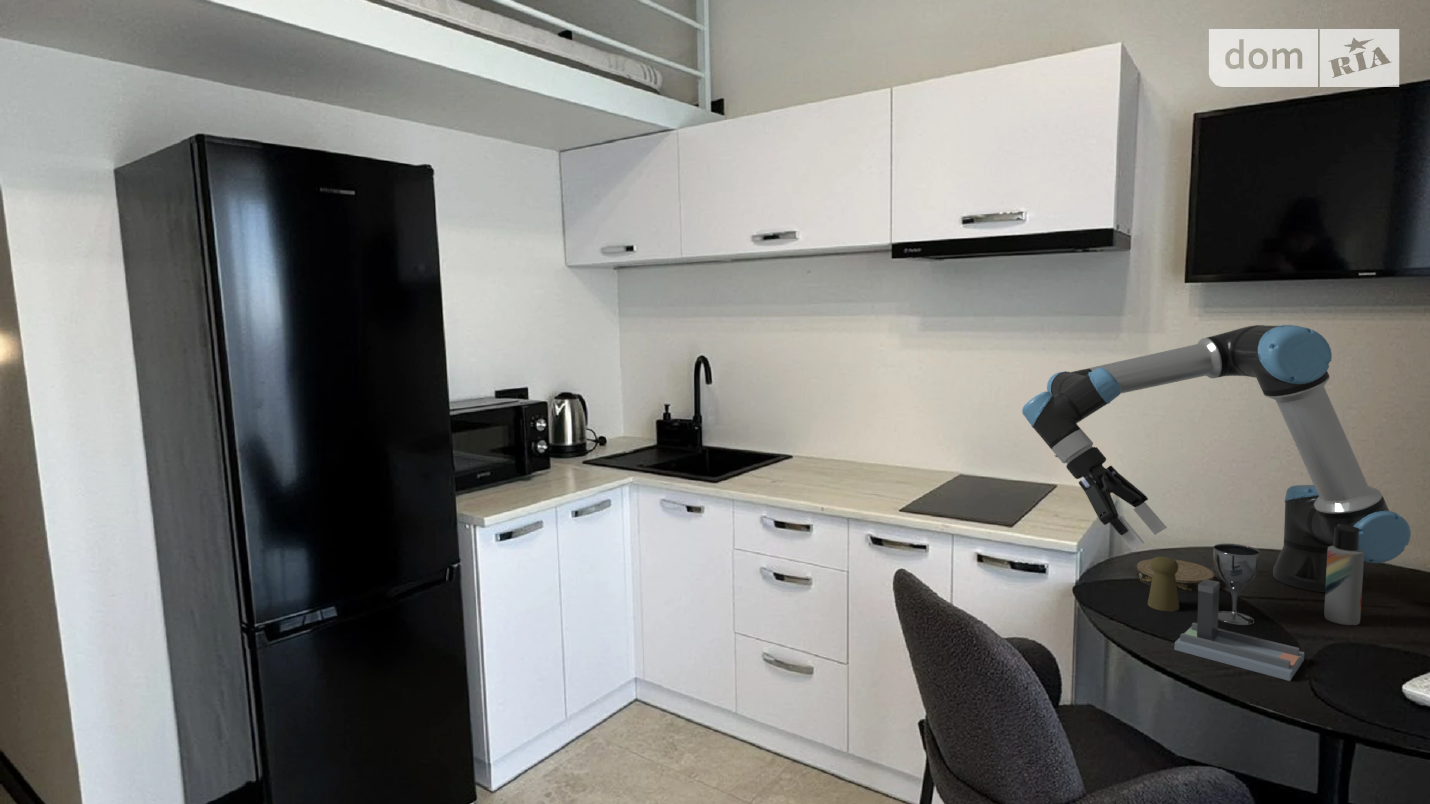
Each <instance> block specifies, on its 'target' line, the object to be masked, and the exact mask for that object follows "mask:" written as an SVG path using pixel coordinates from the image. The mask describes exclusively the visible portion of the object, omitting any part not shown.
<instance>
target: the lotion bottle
mask: <svg viewBox="0 0 1430 804" xmlns="http://www.w3.org/2000/svg"><path fill="white" fill-rule="evenodd" d="M1358 546H1359V529H1358V528H1355V527H1353V526H1350V525H1345V524H1340V525H1337V527H1335V529H1334V544H1333V546H1330V547H1328V551H1327V569H1326V589H1325V592H1324V593H1325V594H1324V609H1323V610H1324V611H1323V613H1324V614H1323V615H1324V618H1325V619H1326V620H1327V621H1330V622H1332V623H1334V624H1339V625H1343V626H1358V625H1359V624H1360V623H1361V617H1362V616H1361V614H1362V612H1361V611H1362V597H1363V596H1362V595H1363V577H1364V562H1365V561H1364V552H1363V551H1362V550H1360V549H1358Z"/></svg>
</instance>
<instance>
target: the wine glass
mask: <svg viewBox="0 0 1430 804" xmlns="http://www.w3.org/2000/svg"><path fill="white" fill-rule="evenodd" d="M1212 555H1213V563H1214V567H1215V571H1216V574H1217V575H1218V577H1219V578H1220V579H1221V580H1222V581H1223V583H1225V585H1227V587H1228V589H1229V591H1230V594H1231V611H1229V610H1228V611H1227V610H1225V611H1224V610H1223V611H1222V610H1218V621H1221V622H1224V623H1227V624H1232V625H1238V626H1248V625H1249V626H1250V625H1253V624H1254V623H1255V622H1256V620H1255V621H1254V618H1253V617H1252V616H1250V615H1247V614H1245V613H1241V612H1238V609H1237V605H1238V599H1239V594H1240V592H1241V590H1242V589H1243V588H1244V587H1246V586H1247V585H1248V584H1250V583H1251V582H1252V581H1253V580H1255V578H1256V576H1257V574H1258V571H1259V568H1260V560H1261V552H1260V550H1259V549H1257V548H1255V547H1253V546H1249V545H1244V544H1238V543H1217V544H1214V545H1213V553H1212Z"/></svg>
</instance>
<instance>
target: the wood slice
mask: <svg viewBox="0 0 1430 804" xmlns="http://www.w3.org/2000/svg"><path fill="white" fill-rule="evenodd" d="M1152 559H1153V558H1149V559H1143V560H1140V561H1138V563H1137V564H1136V577H1137V579H1138V580H1139V579H1140V580H1139V581H1141V582H1142V583H1144V584H1146V583H1147V584H1146V585H1149V586H1151V583H1152V577H1153V570H1152V569H1151V561H1152ZM1175 560H1176V562H1177V563H1178V571H1177V573H1176V574H1175V578H1176V585H1177V592H1183V593H1198V584H1200V583H1201V582H1202V581H1203V580H1204V579H1207V580H1212V581H1215V573H1214V572H1213V570H1212V569H1210V568H1208V567H1206V566H1204V565H1202V564H1198V563H1195V562H1192V561H1185V560H1181V559H1175Z"/></svg>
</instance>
